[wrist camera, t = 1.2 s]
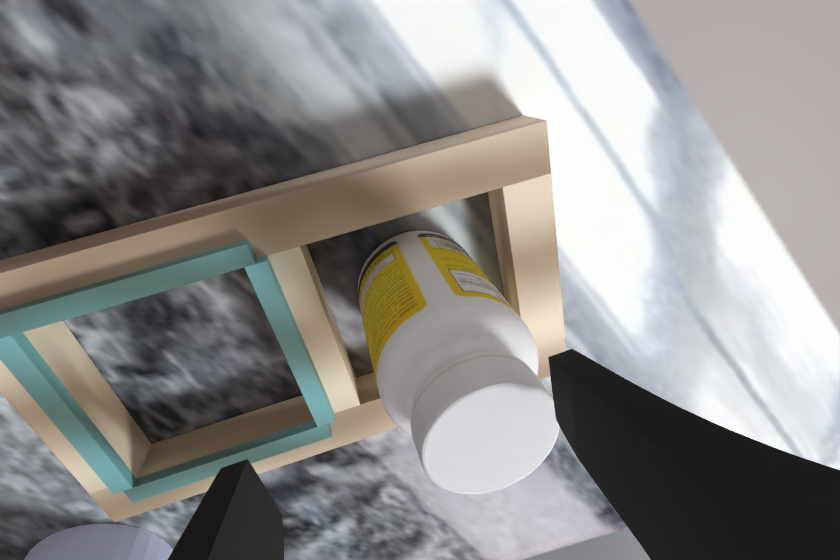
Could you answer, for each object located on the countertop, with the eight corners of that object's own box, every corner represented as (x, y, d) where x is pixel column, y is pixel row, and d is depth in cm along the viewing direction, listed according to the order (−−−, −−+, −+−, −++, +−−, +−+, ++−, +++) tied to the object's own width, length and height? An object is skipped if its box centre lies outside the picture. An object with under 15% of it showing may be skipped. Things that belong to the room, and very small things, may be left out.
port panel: (548, 347, 24) (572, 376, 22) (130, 485, 22) (109, 532, 20) (523, 115, 18) (552, 122, 16) (-41, 271, 16) (-96, 303, 14)
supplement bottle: (370, 346, 21) (409, 535, 13) (343, 242, 19) (371, 391, 10) (477, 318, 22) (583, 481, 14) (465, 215, 20) (586, 333, 11)
